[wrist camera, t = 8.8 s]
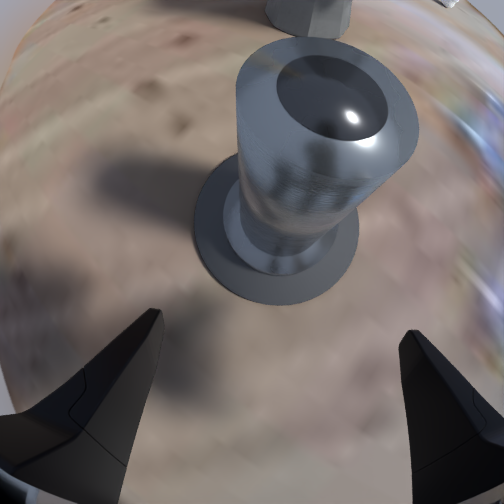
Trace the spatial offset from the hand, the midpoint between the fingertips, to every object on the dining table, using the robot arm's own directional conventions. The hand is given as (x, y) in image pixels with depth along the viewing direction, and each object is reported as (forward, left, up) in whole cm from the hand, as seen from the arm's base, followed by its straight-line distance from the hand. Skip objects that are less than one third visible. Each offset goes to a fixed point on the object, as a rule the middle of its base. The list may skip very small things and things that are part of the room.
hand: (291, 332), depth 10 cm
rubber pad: (+6, +1, -8) cm, 11 cm away
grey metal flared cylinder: (+6, +1, -8) cm, 10 cm away
